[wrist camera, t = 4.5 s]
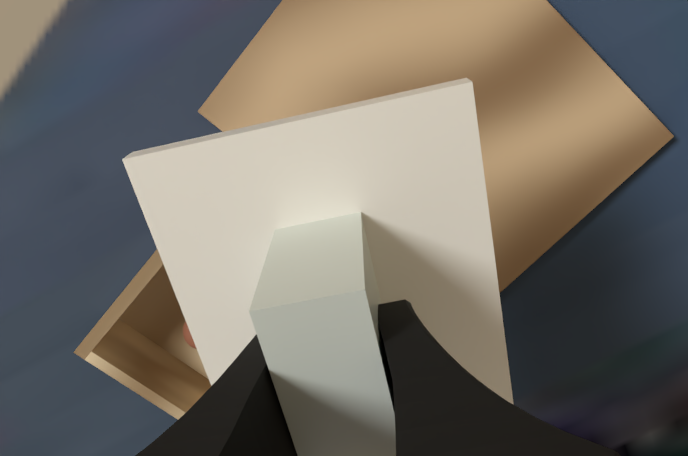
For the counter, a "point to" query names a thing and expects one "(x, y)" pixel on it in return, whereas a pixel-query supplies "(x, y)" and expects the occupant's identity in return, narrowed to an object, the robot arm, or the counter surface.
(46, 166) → the counter surface
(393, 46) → the mat
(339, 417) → the lid
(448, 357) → the robot arm
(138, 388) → the box
